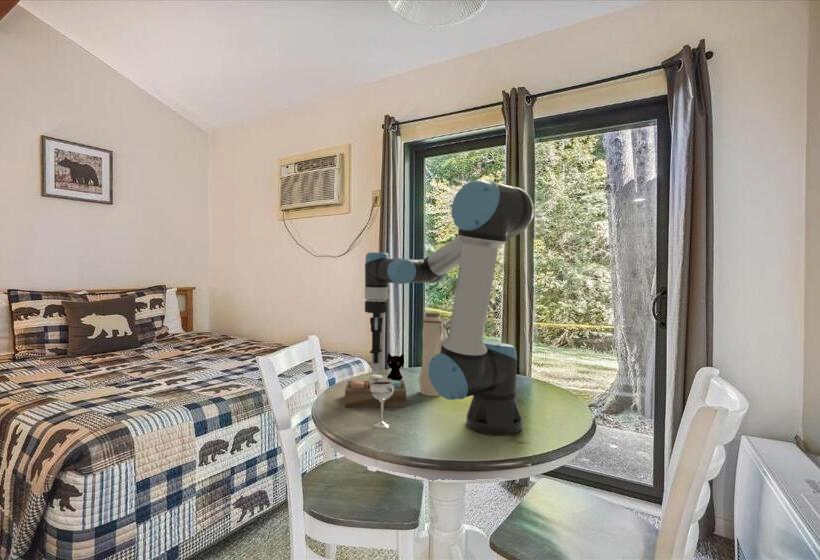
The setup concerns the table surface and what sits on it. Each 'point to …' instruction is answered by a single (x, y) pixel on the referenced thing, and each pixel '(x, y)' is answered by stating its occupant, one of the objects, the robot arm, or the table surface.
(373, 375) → the ivory button
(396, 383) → the teal button
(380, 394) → the wineglass
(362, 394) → the console
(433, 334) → the water bottle
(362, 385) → the terracotta button
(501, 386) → the robot arm
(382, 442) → the table surface
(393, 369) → the cat figurine
